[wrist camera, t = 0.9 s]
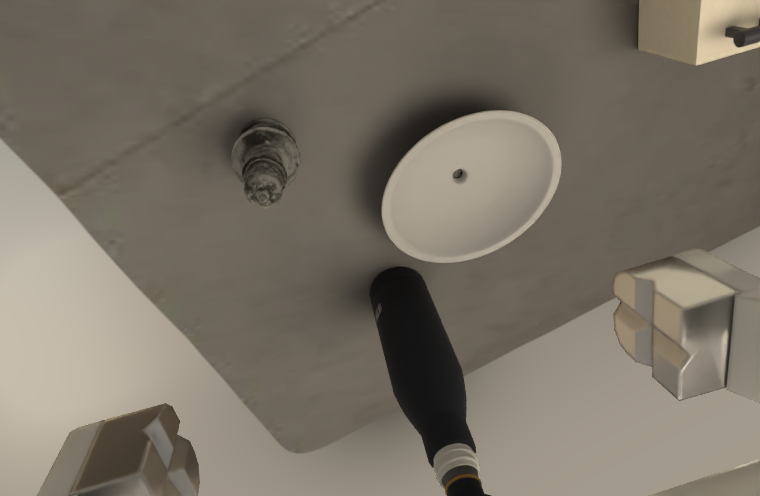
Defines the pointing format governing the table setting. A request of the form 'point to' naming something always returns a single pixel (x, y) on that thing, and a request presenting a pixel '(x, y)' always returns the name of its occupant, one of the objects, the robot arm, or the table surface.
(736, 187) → the table surface
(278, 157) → the salt shaker
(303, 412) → the table surface
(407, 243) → the dish
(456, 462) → the black bottle
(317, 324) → the table surface
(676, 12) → the bin
